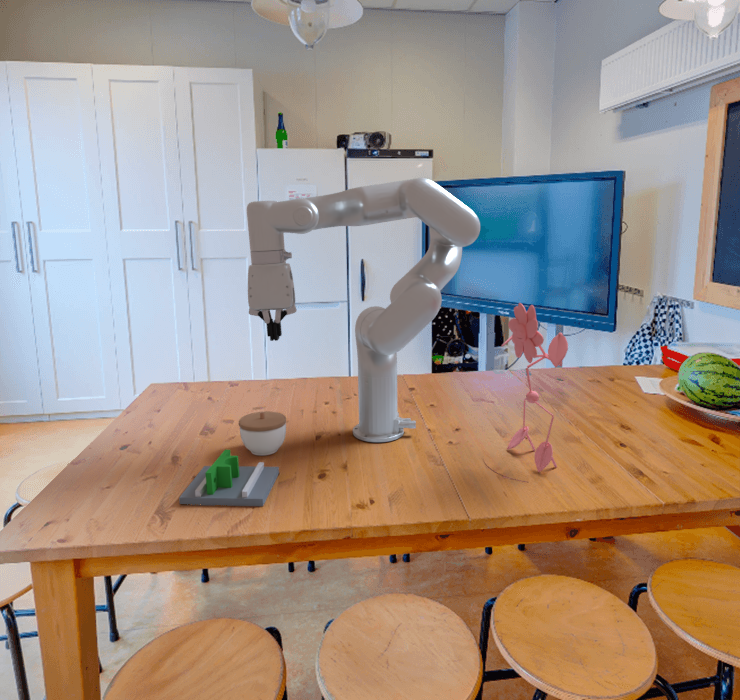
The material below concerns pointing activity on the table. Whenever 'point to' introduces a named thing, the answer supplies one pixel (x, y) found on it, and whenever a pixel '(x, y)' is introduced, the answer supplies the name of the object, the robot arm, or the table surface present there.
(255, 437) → the lidded jar
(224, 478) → the pipe clamp
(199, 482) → the rail board
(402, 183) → the robot arm
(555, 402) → the table surface
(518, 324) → the figurine
